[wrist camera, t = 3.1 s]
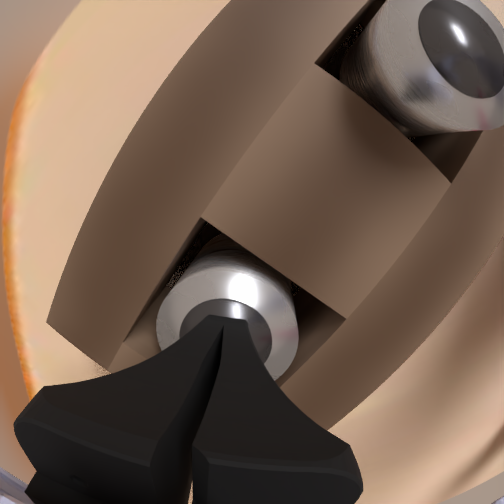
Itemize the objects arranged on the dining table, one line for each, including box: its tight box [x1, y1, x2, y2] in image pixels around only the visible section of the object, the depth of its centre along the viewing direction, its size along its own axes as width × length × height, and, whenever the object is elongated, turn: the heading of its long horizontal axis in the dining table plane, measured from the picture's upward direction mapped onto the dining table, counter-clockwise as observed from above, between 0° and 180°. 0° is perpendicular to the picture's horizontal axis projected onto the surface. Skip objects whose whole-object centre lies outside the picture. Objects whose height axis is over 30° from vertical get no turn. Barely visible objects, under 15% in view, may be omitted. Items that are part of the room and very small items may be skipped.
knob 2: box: [340, 0, 504, 138], centre depth 8 cm, size 5×5×6 cm
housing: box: [46, 0, 504, 430], centre depth 12 cm, size 13×22×6 cm, turn 144°
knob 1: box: [156, 233, 299, 381], centre depth 13 cm, size 5×5×6 cm
